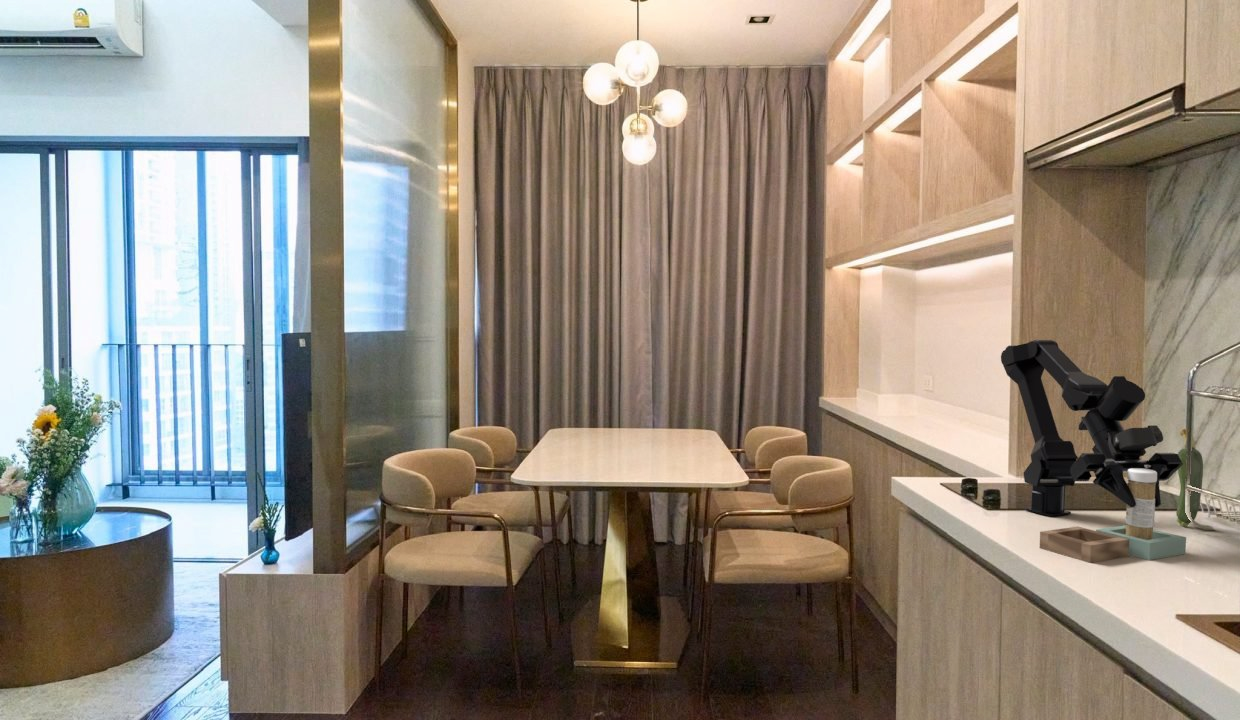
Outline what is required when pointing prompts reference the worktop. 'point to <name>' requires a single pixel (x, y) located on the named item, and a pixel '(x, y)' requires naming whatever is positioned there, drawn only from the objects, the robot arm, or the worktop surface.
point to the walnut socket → (1084, 544)
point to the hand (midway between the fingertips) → (1146, 506)
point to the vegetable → (1194, 481)
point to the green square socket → (1151, 543)
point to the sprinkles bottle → (1141, 503)
